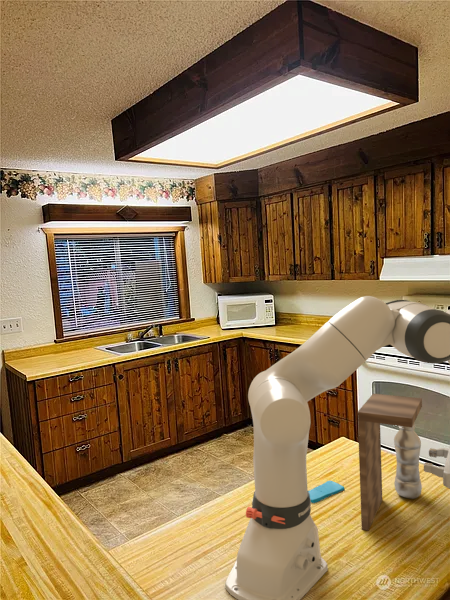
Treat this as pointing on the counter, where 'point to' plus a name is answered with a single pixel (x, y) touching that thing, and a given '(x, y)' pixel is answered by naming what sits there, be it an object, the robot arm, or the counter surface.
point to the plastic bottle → (407, 462)
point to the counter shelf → (378, 444)
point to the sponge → (324, 491)
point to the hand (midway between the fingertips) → (426, 459)
